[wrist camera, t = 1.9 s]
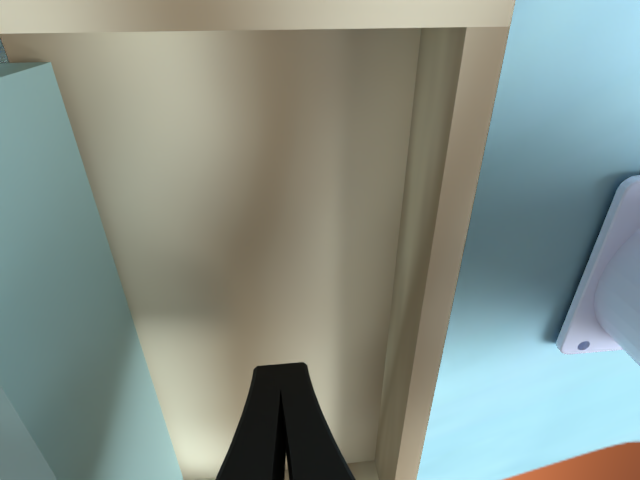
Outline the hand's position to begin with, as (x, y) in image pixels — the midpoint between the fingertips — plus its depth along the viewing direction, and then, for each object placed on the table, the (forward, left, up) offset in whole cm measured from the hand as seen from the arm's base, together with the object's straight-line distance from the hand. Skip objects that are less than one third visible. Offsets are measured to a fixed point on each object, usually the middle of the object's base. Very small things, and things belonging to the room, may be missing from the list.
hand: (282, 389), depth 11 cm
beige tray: (0, 0, -4) cm, 4 cm away
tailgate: (+5, 0, -3) cm, 6 cm away
